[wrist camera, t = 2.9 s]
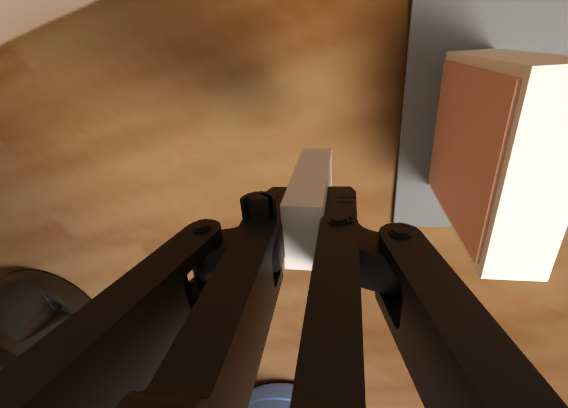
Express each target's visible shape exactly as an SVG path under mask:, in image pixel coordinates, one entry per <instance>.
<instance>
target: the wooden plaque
mask: <svg viewBox="0 0 568 408" xmlns="http://www.w3.org/2000/svg"><path fill="white" fill-rule="evenodd" d="M428 182H429V186H430V188H431V190H432V191H433V193H434V195H435V197H436V199H437V200H438V202H439V204H440V206H441V208H442V209H443V211H444V213H445V215H446V217H447V218H448V220H449V222H450V224H451V226H452V227H453V229H454V231H455V233H456V235H457V236H458V238H459V240H460V242H461V244H462V245H463V247H464V249H465V251H466V253H467V254H468V256H469V258H470V260H471V262H472V263H473V265H474V267H475V269H476V271H477V272H478V274H479V276H480V278H481V279H499V280H521V281H543V282H548V279H549V276H550V273H551V270H552V268H553V265H554V262H555V259H556V256H557V254H558V251H559V248H560V245H561V242H562V239H563V237H564V234H565V231H566V228H567V225H568V55H560V54H549V53H538V52H528V51H517V50H507V49H496V48H491V49H476V50H461V51H446V58H445V60H444V65H443V73H442V80H441V88H440V95H439V103H438V111H437V118H436V126H435V133H434V141H433V149H432V156H431V164H430V171H429V179H428Z"/></svg>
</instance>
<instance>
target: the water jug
mask: <svg viewBox="0 0 568 408" xmlns="http://www.w3.org/2000/svg"><path fill="white" fill-rule="evenodd" d="M292 390H293V384H290V383H271V384H265V385H261V386H258V387H256V388H254V389H253V391H252V395H251V399H250V403H249V406H248V408H289V407H290V402H291V396H292Z"/></svg>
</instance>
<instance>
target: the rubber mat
mask: <svg viewBox="0 0 568 408" xmlns="http://www.w3.org/2000/svg"><path fill="white" fill-rule="evenodd" d="M491 48H496V49H507V50H517V51H528V52H538V53H549V54H560V55H568V0H412V4H411V15H410V27H409V39H408V50H407V62H406V74H405V85H404V97H403V109H402V121H401V132H400V144H399V156H398V167H397V179H396V191H395V202H394V214H393V223H406V224H409V225H412V226H425V227H452V226H451V224H450V222H449V220H448V218H447V217H446V215H445V213H444V211H443V209H442V208H441V206H440V204H439V202H438V200H437V199H436V197H435V195H434V193H433V191H432V190H431V188H430V186H429V182H428V179H429V171H430V164H431V156H432V149H433V141H434V133H435V126H436V118H437V111H438V103H439V95H440V88H441V80H442V73H443V65H444V60H445V58H446V51H461V50H476V49H491ZM566 229H568V225H567V228H566Z"/></svg>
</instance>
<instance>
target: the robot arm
mask: <svg viewBox="0 0 568 408" xmlns="http://www.w3.org/2000/svg"><path fill="white" fill-rule="evenodd" d="M240 204H241V211H242V217H243V219H242V221H241V223H240V225H239V226H238V227H235V228H230V229H223V230H221V225H220V223H219V222H218V221H216V220H211V219H202V220H198V221H196V222H193V223H191V224H189V225H188V226H186V227H185V228H184V229H183V230H181V231H180V232H179V233H177V234H176V235H175V236H173V237H172V238H171V239H170V240H168V241H167V242H166V243H164V244H163V245H162V246H160V247H159V248H158V249H157V250H155V251H154V252H153V253H151V254H150V255H149V256H148V257H146V258H145V259H144V260H142V261H141V262H140V263H138V264H137V265H136V266H135V267H133V268H132V269H131V270H129V271H128V272H127V273H126V274H124V275H123V276H122V277H120V278H119V279H118V280H116V281H115V282H114V283H113V284H111V285H110V286H109V287H107V288H106V289H105V290H103V291H102V292H101V293H100V294H98V295H97V296H96V297H94V298H93V299H92V300H90V299H89V298H88V297H87V296H86V295H85V294H84V293H83V292H81V291H80V290H79V289H77V288H76V287H75V286H73V285H72V284H70V283H68V282H66V281H65V280H63V279H61V278H59V277H56V276H54V275H51V274H48V273H45V272H41V271H35V270H21V271H16V272H13V273H11V274H9V275H8V276H6V277H5V278H3V279H2V280H1V281H0V408H248V406H249V403H250V399H251V395H252V391H253V387H254V384H255V380H256V376H257V372H258V369H259V365H260V361H261V357H262V354H263V350H264V346H265V342H266V339H267V335H268V331H269V327H270V324H271V320H272V316H273V312H274V309H275V305H276V301H277V297H278V294H279V290H280V286H281V282H282V279H283V271H282V264H283V261H284V262H285V269H296V270H312V273H311V279H310V285H309V291H308V297H307V303H306V310H305V316H304V322H303V328H302V334H301V341H300V347H299V353H298V359H297V365H296V372H295V378H294V384H293V390H292V396H291V402H290V407H289V408H366V404H365V379H364V355H363V331H362V306H361V287H362V288H365V289H369V290H372V291H375V297H376V300H377V302H378V304H379V306H380V309H381V311H382V313H383V315H384V318H385V320H386V322H387V324H388V327H389V329H390V331H391V333H392V336H393V338H394V340H395V342H396V344H397V347H398V349H399V351H400V353H401V356H402V358H403V360H404V362H405V365H406V367H407V369H408V371H409V374H410V376H411V378H412V380H413V382H414V385H415V387H416V389H417V391H418V394H419V396H420V398H421V400H422V403H423V405H424V407H425V408H568V406H567V405H566V404H565V403H564V402H563V400H562V399H561V398H560V397H559V396H558V394H557V393H556V392H555V391H554V390H553V388H552V387H551V386H550V385H549V384H548V382H547V381H546V380H545V379H544V378H543V376H542V375H541V374H540V373H539V372H538V371H537V369H536V368H535V367H534V366H533V365H532V363H531V362H530V361H529V360H528V359H527V357H526V356H525V355H524V354H523V353H522V351H521V350H520V349H519V348H518V347H517V345H516V344H515V343H514V342H513V341H512V340H511V338H510V337H509V336H508V335H507V334H506V332H505V331H504V330H503V329H502V328H501V326H500V325H499V324H498V323H497V322H496V320H495V319H494V318H493V317H492V316H491V314H490V313H489V312H488V311H487V310H486V308H485V307H484V306H483V305H482V304H481V303H480V301H479V300H478V299H477V298H476V297H475V295H474V294H473V293H472V292H471V291H470V289H469V288H468V287H467V286H466V285H465V283H464V282H463V281H462V280H461V279H460V277H459V276H458V275H457V274H456V273H455V272H454V270H453V269H452V268H451V267H450V266H449V264H448V263H447V262H446V261H445V260H444V258H443V257H442V256H441V255H440V254H439V252H438V251H437V250H436V249H435V248H434V246H433V245H432V244H431V243H430V242H429V241H428V239H427V238H426V237H425V236H424V235H423V233H422V232H421V231H420V230H419V229H417V228H416V227H414V226H412V225H409V224H406V223H390V224H386V225H384V226H382V227H381V228H380V230H379V232H376V231H372V230H368V229H366V228H364V227H362V226H361V225H360V224H359V223H358V220H357V209H356V191H355V190H354V189H353V188H352V187H333V186H332V148H321V149H302V152H301V154H300V157H299V159H298V162H297V164H296V167H295V169H294V172H293V174H292V177H291V179H290V182H289V184H288V187H272V188H270V189H269V190H268V191H266V192H263V191H260V192H252V193H248V194H246V195H244V196H242V197H241V198H240ZM191 270H193V274H194V277H193V278H192V279H191V280H190V281H189V280H188V278H187V275H188V273H189V272H190V271H191Z"/></svg>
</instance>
